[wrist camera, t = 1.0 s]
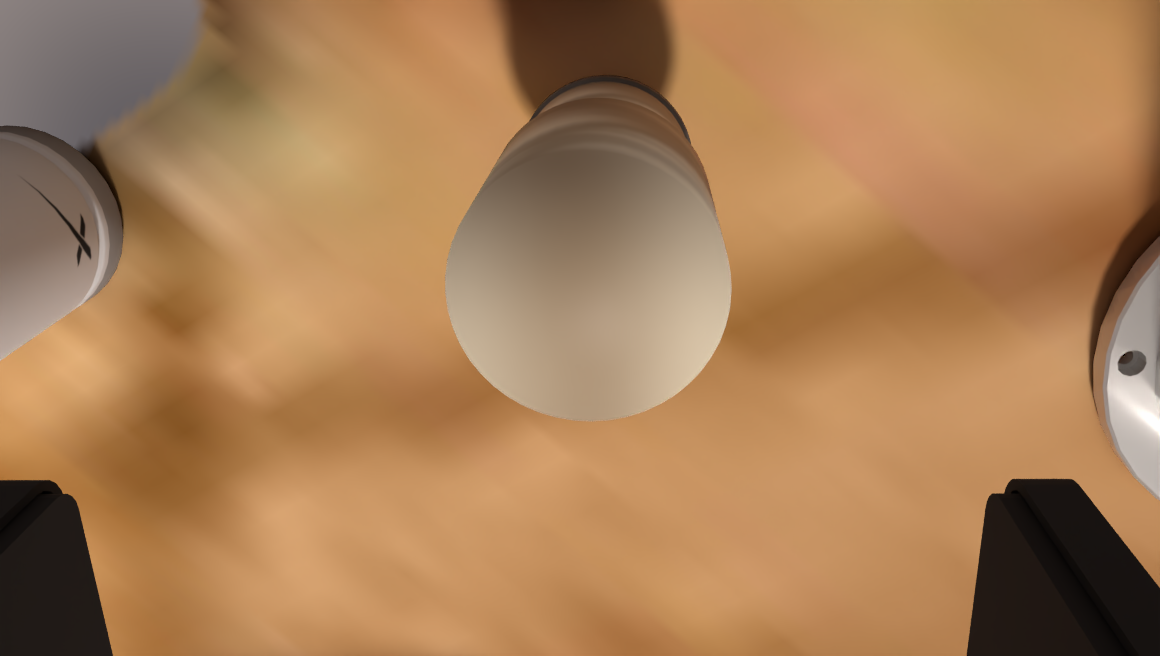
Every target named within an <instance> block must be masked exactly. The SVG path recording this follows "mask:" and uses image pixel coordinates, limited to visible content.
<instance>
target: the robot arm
mask: <svg viewBox="0 0 1160 656" xmlns="http://www.w3.org/2000/svg"><path fill="white" fill-rule="evenodd" d="M1126 352H1127V353H1126ZM1125 353H1126V355H1125V356H1124V357H1122V358H1120V357H1121V356H1122V355H1123V354H1125ZM1093 394H1094V399H1095V403H1096V408H1097V412H1098V416H1099V421H1100V425H1101V427H1102V429H1103V431H1104V433H1105V435H1106V437H1107V439H1108V441H1109V443H1110V445H1111V447H1112V449H1113V451H1114V453H1115V454H1116V455H1117V457H1118V458H1119V459H1120V460H1121V462H1122V463H1123V464H1124V465H1125V467H1126V468H1127V469H1128V470H1129V472H1130V473H1131V474H1132V475H1133V477H1135V478H1136V479H1137V480H1138V481H1139V482H1140V483H1141V484H1142V485H1143V486H1144V487H1145V488H1146V489H1147V490H1148V491H1149V492H1150V493H1151V494H1152V495H1153V496H1154V497H1155V498H1156V499H1158V500H1160V236H1159V237H1158V238H1157V239H1156V240H1155V241H1154V242H1153V243H1152V244H1151V246H1150V247H1149V248H1148V249H1147V250H1146V251H1145V252H1144V253H1143V254H1142V255H1141V256H1140V257H1139V258H1138V259H1137V261H1136V262H1135V264H1134V265H1133V267H1132V268H1131V270H1130V271H1129V273H1128V274H1127V276H1126V278H1125V279H1124V281H1123V282H1122V284H1121V285H1120V287H1119V288H1118V290H1117V291H1116V293H1115V295H1114V297H1113V300H1112V302H1111V304H1110V307H1109V309H1108V311H1107V314H1106V316H1105V318H1104V321H1103V323H1102V325H1101V328H1100V333H1099V338H1098V342H1097V347H1096V352H1095V356H1094V361H1093ZM0 656H113V654H112V650H111V645H110V641H109V637H108V632H107V628H106V624H105V619H104V615H103V611H102V607H101V602H100V598H99V594H98V589H97V585H96V581H95V577H94V572H93V568H92V564H91V559H90V555H89V551H88V547H87V542H86V538H85V534H84V529H83V525H82V521H81V517H80V512H79V508H78V506H77V503H76V501H75V499H74V498H73V497H72V496H70V495H68V494H63V493H62V490H61V489H60V488H59V487H58V485H57V484H56V483H54V482H52V481H50V480H0ZM967 656H1160V588H1159V587H1158V585H1157V584H1156V583H1155V581H1154V580H1153V579H1152V578H1151V576H1150V575H1149V574H1148V572H1147V571H1146V570H1145V569H1144V567H1143V566H1142V565H1141V564H1140V562H1139V561H1138V560H1137V558H1136V557H1135V556H1134V555H1133V553H1132V552H1131V551H1130V550H1129V548H1128V547H1127V546H1126V544H1125V543H1124V542H1123V541H1122V539H1121V538H1120V537H1119V535H1118V534H1117V533H1116V532H1115V530H1114V529H1113V528H1112V527H1111V525H1110V524H1109V523H1108V521H1107V520H1106V519H1105V518H1104V516H1103V515H1102V514H1101V512H1100V511H1099V510H1098V509H1097V507H1096V506H1095V505H1094V504H1093V502H1092V501H1091V500H1090V498H1089V497H1088V496H1087V495H1086V493H1085V492H1084V491H1083V490H1082V488H1081V487H1080V486H1079V484H1077V483H1076V482H1075V481H1074V480H1072V479H1012V480H1011V481H1010V482H1009V483H1008V485H1007V487H1006V489H1005V493H1004V494H991V495H990V496H989V498H988V501H987V504H986V509H985V517H984V525H983V533H982V540H981V548H980V556H979V564H978V572H977V579H976V587H975V595H974V603H973V611H972V618H971V626H970V634H969V642H968V650H967Z"/></svg>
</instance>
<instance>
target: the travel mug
mask: <svg viewBox="0 0 1160 656" xmlns="http://www.w3.org/2000/svg"><path fill="white" fill-rule="evenodd" d="M122 243H123V230H122V221H121V216H120V213H119V209H118V206H117V203H116V200H115V198H114V196H113V194H112V192H111V190H110V188H109V186H108V184H107V182H106V181H105V180H104V178H103V177H102V176H101V174H100V173H99V172H98V170H97V169H96V168H95V166H94V165H93V164H92V163H91V162H89V161H88V160H87V159H86V158H85V157H84V156H83V155H82V154H81V153H80V152H79V151H77V150H76V149H74V148H73V147H71V146H70V145H69V144H67V143H66V142H64V141H63V140H61V139H58V138H56V137H54V136H52V135H50V134H48V133H46V132H42V131H39V130H35V129H31V128H28V127H19V126H0V360H2V359H3V358H5V357H6V356H8V355H9V354H11V353H12V352H14V351H15V350H16V349H18V348H19V347H21V346H22V345H24V344H25V343H27V342H28V341H30V340H31V339H32V338H34V337H35V336H37V335H38V334H40V333H41V332H43V331H44V330H46V329H47V328H48V327H50V326H51V325H53V324H54V323H56V322H57V321H59V320H60V319H61V318H63V317H64V316H66V315H67V314H69V313H70V312H72V311H73V310H74V309H76V308H77V307H79V306H80V305H82V304H83V303H85V302H86V301H88V300H89V299H91V298H92V297H93V296H95V295H96V294H97V293H98V292H99V291H100V290H101V289H102V288H103V287H104V286H105V285H106V284H107V283H108V282H109V280H110V279H111V277H112V276H113V274H114V272H115V271H116V269H117V266H118V263H119V260H120V257H121V253H122Z"/></svg>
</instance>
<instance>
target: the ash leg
mask: <svg viewBox="0 0 1160 656" xmlns="http://www.w3.org/2000/svg"><path fill="white" fill-rule="evenodd" d="M445 292H446V300H447V307H448V313H449V316H450V320H451V323H452V326H453V329H454V332H455V334H456V336H457V338H458V341H459V343H460V345H461V347H462V348H463V350H464V352H465V353H466V355H467V356H468V358H469V360H470V361H471V362H472V363H473V365H474V366H475V367H476V368H477V370H478V371H479V372H480V373H481V374H482V375H483V376H484V377H485V378H486V379H487V380H488V381H489V382H490V383H491V384H492V385H493V386H494V387H496V388H497V389H498V390H500V391H501V392H502V393H503V394H505V395H506V396H508V397H509V398H511V399H513V400H514V401H516V402H518V403H520V404H521V405H523V406H526V407H528V408H530V409H532V410H535V411H537V412H540V413H543V414H546V415H550V416H553V417H557V418H563V419H568V420H576V421H605V420H613V419H619V418H624V417H628V416H631V415H635V414H638V413H641V412H644V411H646V410H648V409H651V408H653V407H655V406H657V405H659V404H661V403H663V402H664V401H666V400H668V399H669V398H671V397H673V396H674V395H676V394H677V393H678V392H679V391H681V390H682V389H683V388H684V387H686V386H687V385H688V384H689V383H690V382H691V381H692V380H693V379H694V378H695V377H696V376H697V375H698V374H699V373H700V372H701V370H702V369H703V368H704V366H705V365H706V364H707V362H708V361H709V360H710V358H711V357H712V355H713V353H714V351H715V349H716V348H717V346H718V344H719V342H720V339H721V337H722V334H723V332H724V329H725V327H726V323H727V319H728V314H729V310H730V301H731V273H730V267H729V262H728V256H727V252H726V248H725V245H724V241H723V237H722V233H721V229H720V225H719V221H718V218H717V214H716V210H715V206H714V202H713V198H712V194H711V190H710V187H709V183H708V179H707V176H706V173H705V170H704V167H703V165H702V163H701V161H700V159H699V157H698V155H697V153H696V151H695V150H694V149H693V147H692V146H691V142H690V138H689V135H688V132H687V129H686V127H685V125H684V123H683V121H682V119H681V117H680V116H679V114H678V113H677V111H676V110H675V109H674V107H673V106H672V105H671V104H670V103H669V102H668V101H667V100H666V99H665V98H664V97H663V96H662V95H660V94H659V93H658V92H657V91H655V90H653V89H652V88H650V87H649V86H647V85H645V84H643V83H641V82H638V81H635V80H632V79H629V78H625V77H620V76H610V75H601V76H591V77H587V78H582V79H579V80H577V81H574V82H571V83H569V84H567V85H565V86H563V87H561V88H560V89H558V90H557V91H555V92H554V93H553V94H551V95H550V96H549V97H548V98H547V99H546V100H545V101H544V102H543V103H542V104H541V105H540V106H539V107H538V109H537V110H536V111H535V113H534V114H533V116H532V117H531V119H530V121H529V122H528V123H527V124H526V125H525V126H524V127H522V128H521V129H520V130H519V131H518V132H517V133H516V134H515V136H514V137H513V138H512V139H511V141H510V142H509V143H508V144H507V146H506V148H505V149H504V151H503V152H502V154H501V156H500V157H499V159H498V161H497V162H496V164H495V166H494V168H493V169H492V171H491V173H490V174H489V176H488V178H487V179H486V181H485V183H484V184H483V186H482V188H481V189H480V191H479V193H478V194H477V196H476V198H475V200H474V201H473V203H472V205H471V206H470V208H469V210H468V211H467V213H466V215H465V216H464V218H463V220H462V221H461V223H460V225H459V227H458V229H457V232H456V234H455V236H454V239H453V241H452V244H451V248H450V252H449V255H448V259H447V267H446V275H445Z"/></svg>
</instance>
